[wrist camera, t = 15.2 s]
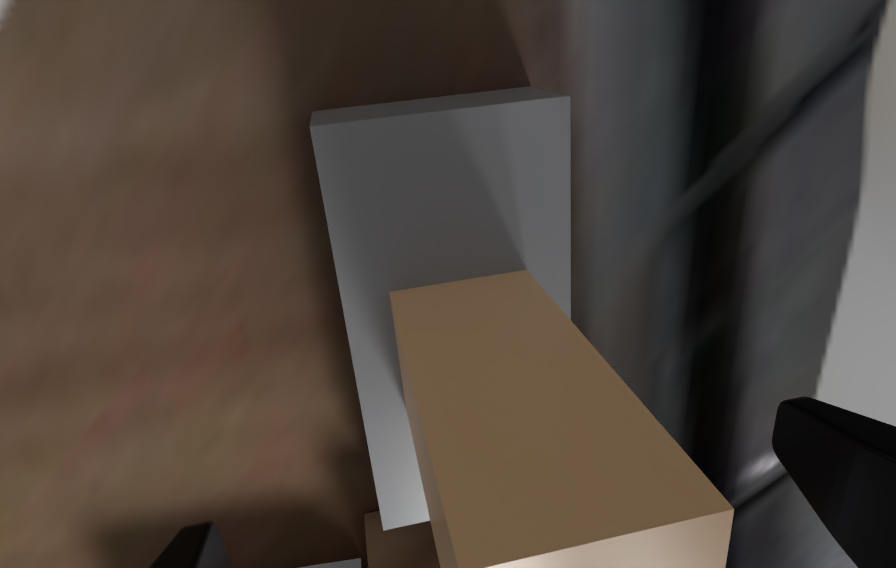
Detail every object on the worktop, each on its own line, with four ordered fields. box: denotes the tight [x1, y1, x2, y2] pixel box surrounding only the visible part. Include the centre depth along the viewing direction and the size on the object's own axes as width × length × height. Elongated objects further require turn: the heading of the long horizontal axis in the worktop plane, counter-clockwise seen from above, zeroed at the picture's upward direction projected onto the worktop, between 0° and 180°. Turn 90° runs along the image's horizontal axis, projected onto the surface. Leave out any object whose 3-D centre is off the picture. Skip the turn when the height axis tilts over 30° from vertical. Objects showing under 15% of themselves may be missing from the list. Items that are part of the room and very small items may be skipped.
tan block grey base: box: [310, 86, 734, 568], centre depth 11 cm, size 5×10×10 cm, turn 5°
